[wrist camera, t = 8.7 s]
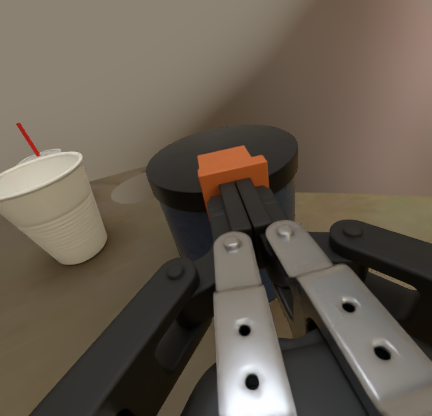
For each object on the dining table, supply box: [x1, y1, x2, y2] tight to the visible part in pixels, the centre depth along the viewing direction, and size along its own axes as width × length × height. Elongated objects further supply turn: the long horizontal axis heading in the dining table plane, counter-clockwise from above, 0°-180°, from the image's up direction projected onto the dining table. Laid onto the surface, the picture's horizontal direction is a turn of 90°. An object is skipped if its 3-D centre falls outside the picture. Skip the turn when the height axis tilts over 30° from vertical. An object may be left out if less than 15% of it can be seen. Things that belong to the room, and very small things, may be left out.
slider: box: [197, 145, 269, 221], centre depth 14 cm, size 6×3×3 cm, turn 7°
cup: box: [0, 152, 107, 265], centre depth 28 cm, size 10×10×11 cm
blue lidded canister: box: [146, 125, 298, 302], centre depth 22 cm, size 11×11×12 cm
